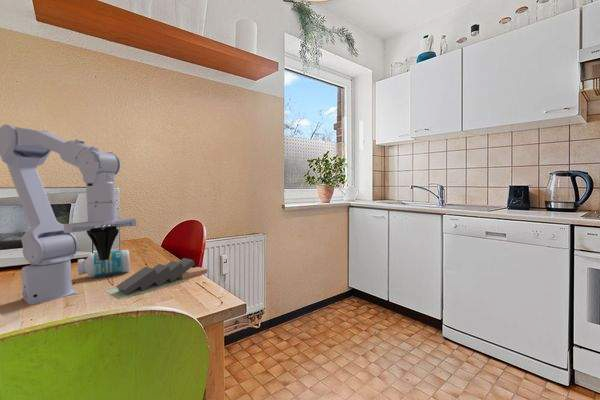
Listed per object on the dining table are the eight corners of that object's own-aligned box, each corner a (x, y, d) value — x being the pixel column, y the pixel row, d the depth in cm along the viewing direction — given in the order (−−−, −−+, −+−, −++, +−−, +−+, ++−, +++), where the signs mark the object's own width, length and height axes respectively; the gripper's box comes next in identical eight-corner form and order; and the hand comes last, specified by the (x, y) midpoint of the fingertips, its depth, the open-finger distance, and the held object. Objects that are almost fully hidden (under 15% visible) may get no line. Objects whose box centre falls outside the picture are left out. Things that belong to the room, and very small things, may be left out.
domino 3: (155, 281, 81) (181, 262, 87) (146, 278, 84) (171, 260, 90) (158, 286, 81) (183, 267, 87) (149, 283, 84) (174, 265, 90)
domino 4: (169, 278, 84) (193, 260, 90) (160, 275, 87) (183, 257, 93) (171, 282, 84) (195, 264, 91) (162, 279, 87) (185, 262, 93)
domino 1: (124, 290, 74) (154, 269, 80) (115, 286, 77) (145, 266, 83) (127, 295, 75) (157, 273, 81) (118, 291, 78) (148, 271, 84)
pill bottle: (130, 271, 94) (77, 279, 87) (130, 272, 100) (80, 280, 93) (128, 247, 95) (76, 253, 89) (129, 250, 102) (80, 256, 95)
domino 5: (182, 274, 87) (207, 269, 94) (173, 271, 90) (198, 266, 97) (182, 279, 87) (207, 274, 94) (173, 276, 90) (198, 271, 97)
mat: (121, 300, 72) (120, 299, 72) (104, 292, 78) (104, 291, 78) (187, 281, 87) (187, 279, 87) (169, 275, 93) (169, 274, 93)
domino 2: (140, 286, 77) (168, 266, 83) (131, 282, 80) (159, 263, 86) (142, 290, 78) (170, 270, 84) (134, 287, 81) (161, 268, 87)
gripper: (70, 204, 62) (73, 268, 63) (141, 201, 74) (143, 255, 75) (59, 203, 67) (62, 264, 67) (128, 200, 78) (130, 252, 79)
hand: (104, 259), depth 71 cm, fingers closed
